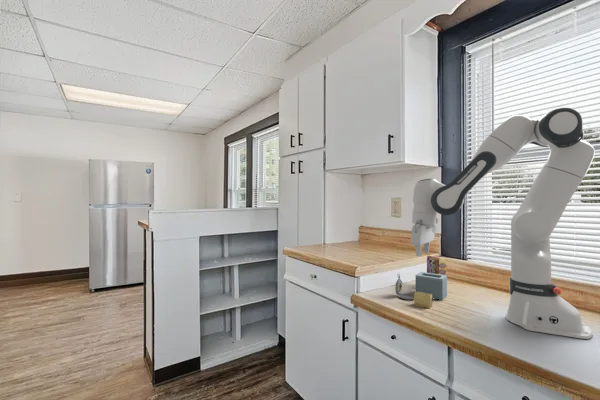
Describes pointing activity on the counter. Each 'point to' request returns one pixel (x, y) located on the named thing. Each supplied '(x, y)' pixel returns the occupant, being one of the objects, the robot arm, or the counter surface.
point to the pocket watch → (399, 289)
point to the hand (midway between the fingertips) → (422, 254)
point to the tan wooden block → (423, 299)
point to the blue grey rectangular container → (432, 284)
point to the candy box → (436, 265)
